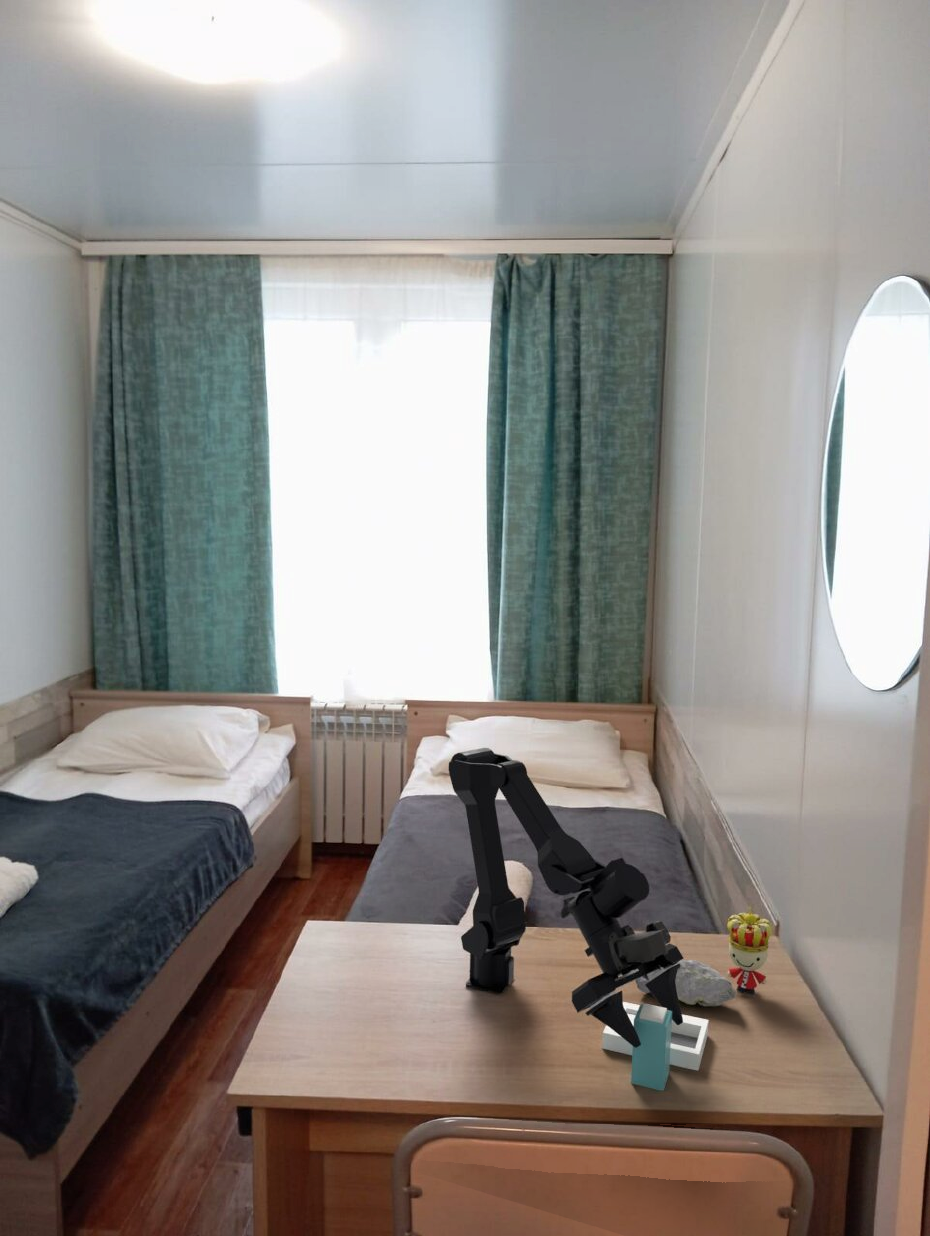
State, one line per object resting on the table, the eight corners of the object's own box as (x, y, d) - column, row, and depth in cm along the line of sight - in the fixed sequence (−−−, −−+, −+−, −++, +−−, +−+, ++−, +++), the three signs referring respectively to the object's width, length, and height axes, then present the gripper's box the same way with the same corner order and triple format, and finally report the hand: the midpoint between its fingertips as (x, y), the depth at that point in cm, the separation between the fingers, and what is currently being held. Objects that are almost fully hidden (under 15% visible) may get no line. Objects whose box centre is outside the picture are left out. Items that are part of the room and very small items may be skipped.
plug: (631, 1083, 133) (634, 1015, 132) (637, 1065, 137) (640, 1000, 136) (663, 1091, 131) (666, 1022, 130) (669, 1073, 135) (672, 1006, 134)
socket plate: (602, 1048, 141) (602, 1031, 141) (617, 1015, 150) (617, 999, 150) (698, 1070, 136) (699, 1053, 136) (707, 1035, 145) (708, 1019, 145)
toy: (720, 996, 157) (725, 909, 155) (726, 976, 164) (731, 893, 162) (766, 1005, 154) (771, 917, 153) (769, 985, 161) (775, 900, 159)
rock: (740, 1000, 156) (742, 961, 155) (732, 1021, 150) (734, 980, 149) (647, 978, 163) (649, 940, 162) (635, 997, 156) (637, 958, 156)
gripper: (589, 924, 128) (651, 1037, 121) (675, 890, 140) (736, 991, 133) (546, 958, 135) (602, 1066, 128) (632, 923, 147) (687, 1020, 140)
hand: (660, 1034), depth 132 cm, fingers open, 9 cm apart
